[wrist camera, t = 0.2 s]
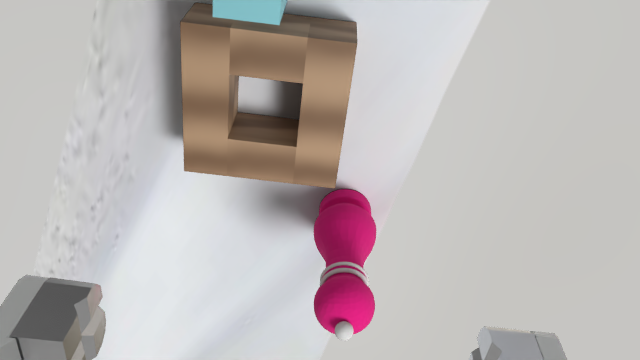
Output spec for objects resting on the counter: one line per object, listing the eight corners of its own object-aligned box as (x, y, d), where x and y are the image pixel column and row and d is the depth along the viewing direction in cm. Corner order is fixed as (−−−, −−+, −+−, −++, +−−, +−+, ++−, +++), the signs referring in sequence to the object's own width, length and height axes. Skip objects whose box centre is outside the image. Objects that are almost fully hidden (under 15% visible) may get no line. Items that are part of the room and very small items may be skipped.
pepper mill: (320, 235, 71) (312, 366, 54) (310, 188, 67) (298, 314, 50) (378, 229, 70) (387, 360, 53) (370, 181, 66) (378, 307, 49)
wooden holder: (195, 2, 55) (180, 21, 50) (356, 22, 56) (357, 43, 51) (196, 142, 64) (184, 170, 59) (336, 159, 65) (334, 188, 60)
